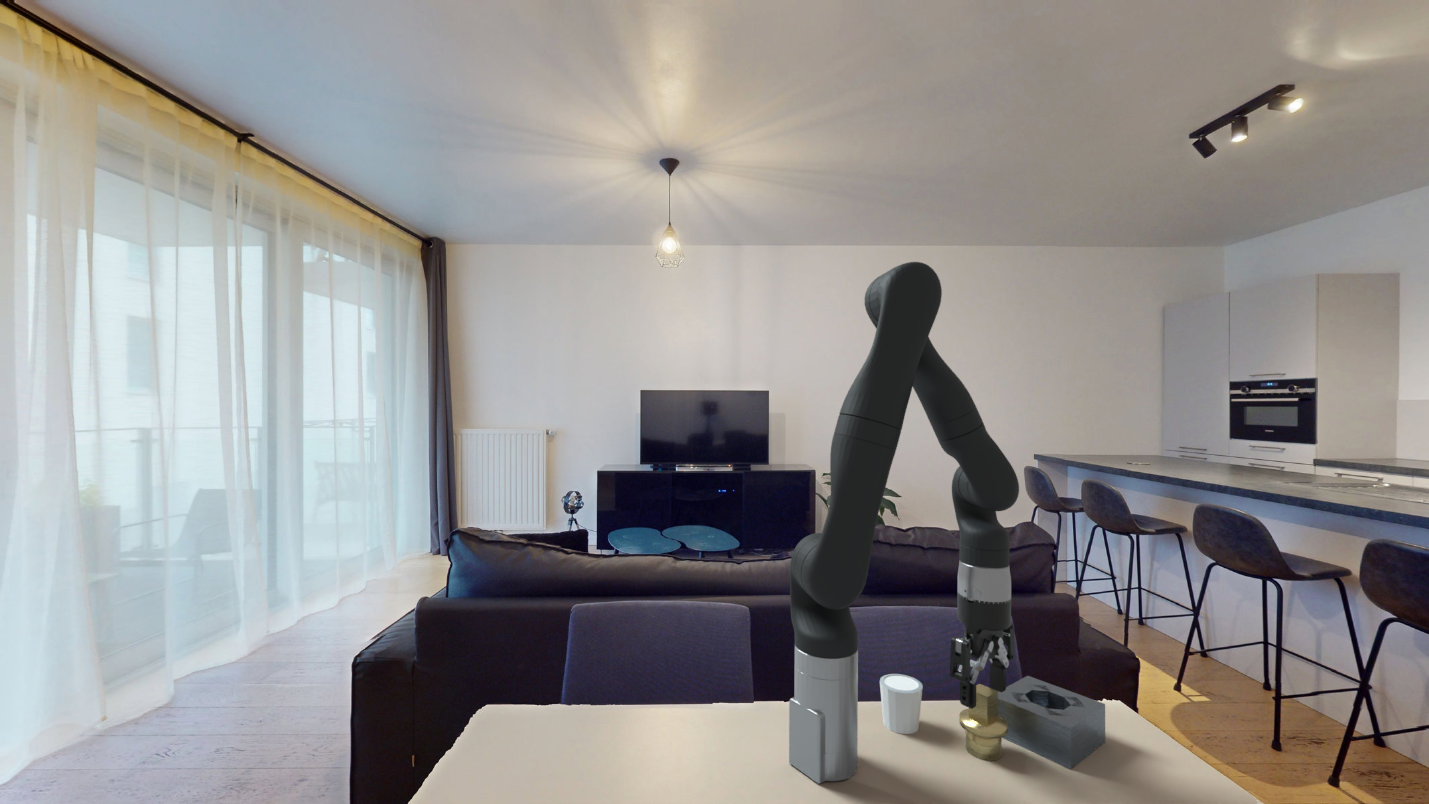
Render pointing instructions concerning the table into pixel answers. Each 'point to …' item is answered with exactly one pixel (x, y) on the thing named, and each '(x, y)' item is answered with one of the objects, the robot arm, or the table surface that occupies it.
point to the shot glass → (901, 702)
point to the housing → (1052, 720)
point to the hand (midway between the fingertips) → (983, 697)
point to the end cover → (984, 725)
